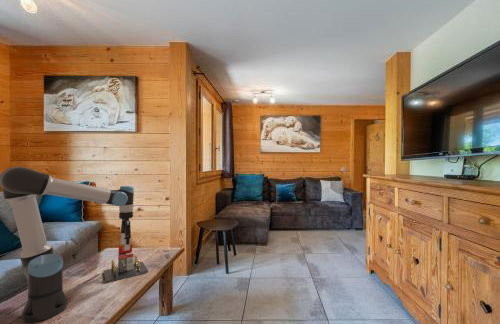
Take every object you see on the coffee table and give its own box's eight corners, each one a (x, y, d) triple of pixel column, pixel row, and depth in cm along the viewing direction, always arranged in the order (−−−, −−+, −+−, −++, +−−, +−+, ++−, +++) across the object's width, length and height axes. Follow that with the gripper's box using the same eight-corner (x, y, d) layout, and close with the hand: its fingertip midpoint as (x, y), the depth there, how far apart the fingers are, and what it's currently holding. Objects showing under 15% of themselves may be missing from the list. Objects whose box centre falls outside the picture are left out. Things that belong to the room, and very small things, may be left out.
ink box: (133, 269, 144) (133, 245, 144) (118, 273, 139) (119, 248, 139) (132, 267, 146) (132, 244, 147) (117, 271, 142) (118, 246, 142)
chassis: (105, 282, 130) (105, 269, 130) (103, 272, 143) (103, 260, 143) (148, 272, 143) (148, 260, 143) (142, 263, 156) (142, 252, 156)
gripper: (137, 213, 135) (136, 251, 135) (129, 208, 156) (128, 240, 155) (122, 215, 131) (121, 253, 130) (116, 209, 151) (115, 242, 150)
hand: (125, 246), depth 143 cm, fingers open, 13 cm apart
